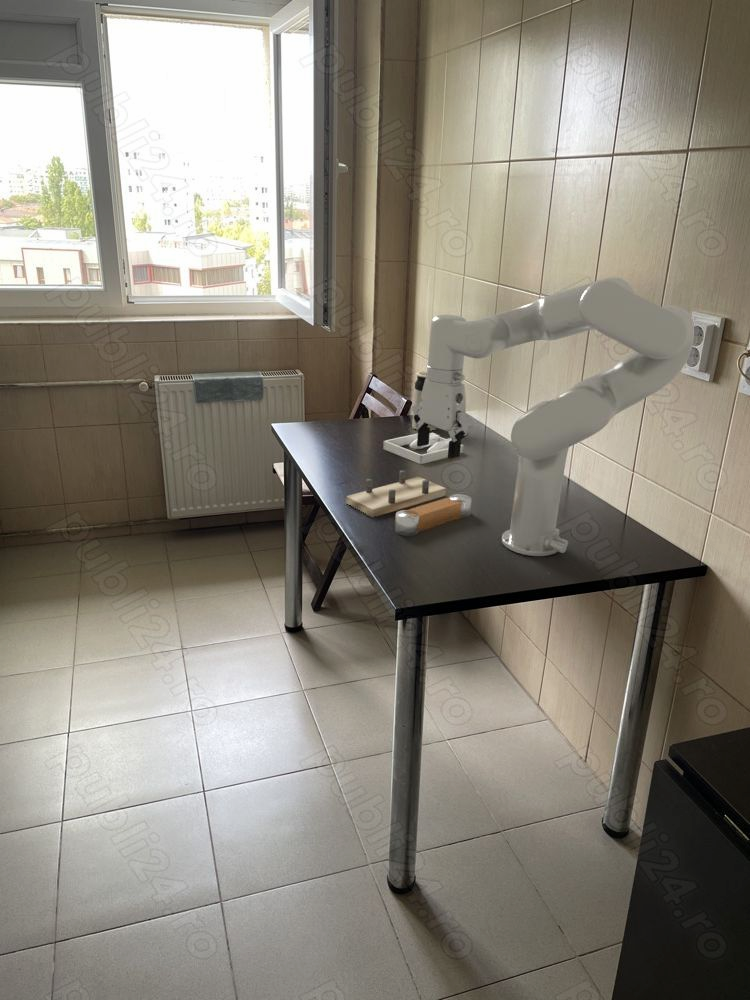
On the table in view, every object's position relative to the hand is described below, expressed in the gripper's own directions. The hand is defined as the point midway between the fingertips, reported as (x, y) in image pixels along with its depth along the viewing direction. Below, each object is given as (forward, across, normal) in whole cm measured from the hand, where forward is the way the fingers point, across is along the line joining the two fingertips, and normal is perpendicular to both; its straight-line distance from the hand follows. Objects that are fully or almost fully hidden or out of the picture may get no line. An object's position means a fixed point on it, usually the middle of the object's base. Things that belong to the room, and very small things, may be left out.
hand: (437, 451), depth 162 cm
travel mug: (+18, +56, -51) cm, 78 cm away
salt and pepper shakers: (+18, +38, -37) cm, 56 cm away
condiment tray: (+17, +39, -34) cm, 54 cm away
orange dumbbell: (+17, 0, 0) cm, 17 cm away
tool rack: (+17, +15, -2) cm, 23 cm away
